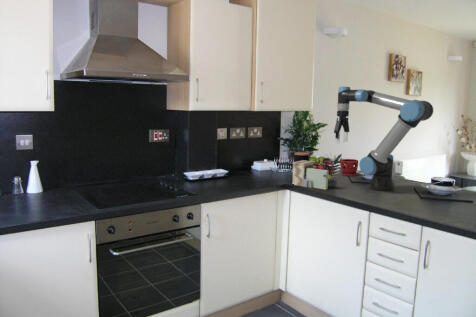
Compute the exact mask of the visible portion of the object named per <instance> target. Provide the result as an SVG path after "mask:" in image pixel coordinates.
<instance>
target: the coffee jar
mask: <svg viewBox="0 0 476 317" xmlns="http://www.w3.org/2000/svg"><path fill="white" fill-rule="evenodd" d="M309 155H310V153H309V152H298V151H297V152H294V158H293V159H294V162H297V161H302V160H306V161H310V156H309Z"/></svg>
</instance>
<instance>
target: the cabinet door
mask: <svg viewBox="0 0 476 317" xmlns="http://www.w3.org/2000/svg"><path fill="white" fill-rule="evenodd" d="M306 179H308V183H307V187H306V188H310V187H309V180H312V187H311V188H315V189H320V190H328V187H329V170H327V169H320V168H319V169H318V168H314V167H313V168H307V173H306Z"/></svg>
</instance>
